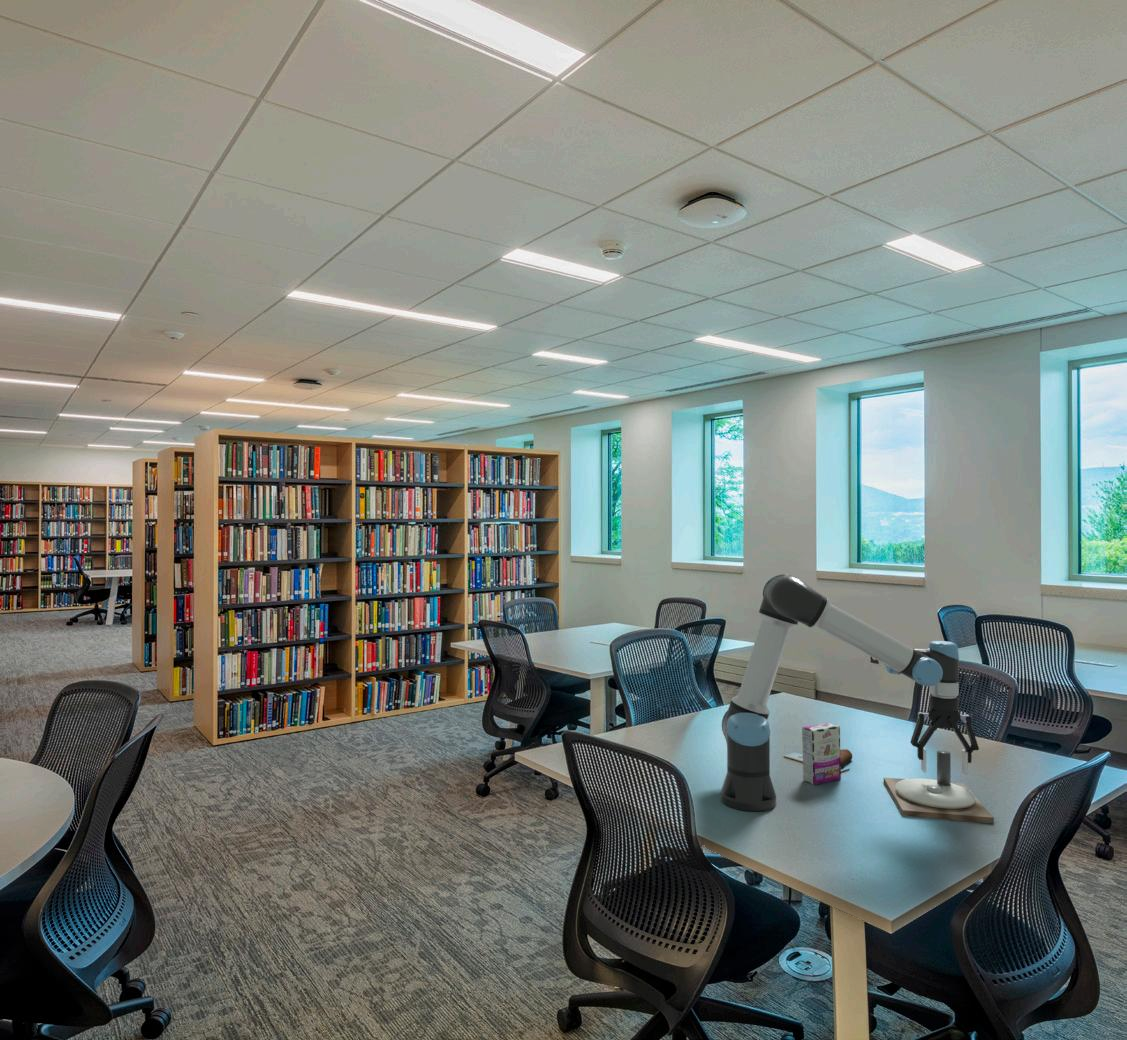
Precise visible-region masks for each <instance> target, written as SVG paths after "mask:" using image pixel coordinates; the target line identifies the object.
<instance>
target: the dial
mask: <svg viewBox="0 0 1127 1040" xmlns="http://www.w3.org/2000/svg"><path fill="white" fill-rule="evenodd" d="M951 759H952V757H951V752H950V751H946V750H937V751H936V779H932V778H919V777H918V778H904V779H905V780H901V781H899V782H897V783H896V792H897V794H898V795H900V796H901V797H903V798H905V799H907V800H909V801H912V802H915V803H918V804H921V805H925V806H930V807H936V808H946V809H960V808H967V807H970V806H972V805H974V804H975V797H976V794H975V793H973V792H972V790H970V789H969V788H968V789H969V790H968V789H966V788H964V787H962V786H959V785H956V784H953V783H954V782H952V781H951V777H952V776H951V774H952V773H951V770H952V769H951V767H952V766H951ZM951 782H952V783H951Z"/></svg>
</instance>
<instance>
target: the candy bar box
mask: <svg viewBox="0 0 1127 1040" xmlns="http://www.w3.org/2000/svg"><path fill="white" fill-rule="evenodd" d="M801 730H802V732H801V733H802V738H801V739H802V777H803V778H802V780H803V781H804V782H806V783H809V784H810V785H811V784H812V785H814V786H816V785H820V784H824V783H831V782H834V781H838V780H842V770H841V769H842V766H841V760H840V758H841V757H840V750H841V725H837V724H834V723H831V722H824V723H819V724H815V725H814V724H813V725H807V726H802V728H801Z"/></svg>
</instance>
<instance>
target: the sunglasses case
mask: <svg viewBox="0 0 1127 1040" xmlns="http://www.w3.org/2000/svg"><path fill="white" fill-rule="evenodd" d="M840 757H841V758H840V760H841V767H843V766H844V765H845V764H846V763H848V762H850V761H851V760H852V759H853V753H852V751H850V750H849V749H847V748H845V749H843V748H842V749H840Z"/></svg>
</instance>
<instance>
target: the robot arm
mask: <svg viewBox="0 0 1127 1040" xmlns="http://www.w3.org/2000/svg"><path fill="white" fill-rule="evenodd" d="M758 615H759V617H760V618H761V621H760V624H759V626H758V631H757V634H756V637H755V640H754V643H753V646H752V651H751V653H750V656H749V660H748V662H747V666H746V669H745V672H744V675H743V679H742V681H741V685H740V688H739V691H738V694H737V695H735V696H733V697H731V700H730V702H729V705H728V708H727V710H726V712H724V714H723V716H722V720H721V731H722V735H723V737H724V740H725V743H726V749H727V750H726V761H727V762H726V767H727V768H726V771H727V772H726V775H725V777H724V781H723V782H722V783H723V785H722V786H721V791H720V800H721V802H722V803H723V804H724V805H726V806H727V807H730V808H732V809H736V810H741V811H747V812H764V811H768V810H771V809H773V808H775V807H776V806H777V794H776V791H775V787H774V785H773V782H772V778H771V775H770V773H771V771H770V770H771V769H770V768H771V767H770V766H771V764H770V763H771V762H770V760H771V759H770V758H771V755H770V751H771V750H770V748H771V747H770V743H771V742H770V741H771V740H770V739H771V738H770V737H771V729H770V724H769V721H768V719H769V716H770V712H771V711H770V710H769V708H768V705H767V704H768V702H769V701H768V700H769V697H770V695H771V691H772V688H773V685H774V682H775V679H776V676H777V673H778V669H779V667H780V666H779V665H780V663H781V660H782V657H783V654H784V650H785V647H786V644H787V642H788V638H789V635H790V631H791V630H792V629H793V628H795V627H797V626H798V624H799V623H800V624H802V625H804V626H807V627H808V628H810V629H814V628H817V629H819V630H822V631H823V632H825V633H826V634H829V635H831V636H833V637H834V638H836V639H838V640H839V641H842V642H843V643H846V644H847V645H849V646H851V647H852V648H855V649H856V650H858V651H860V652H861V653H863V654H865V655H867V656H868V657H870V658H873V659H874V660H876V661H878V662H880V663H882V664H884V665H885V669H886V671H887V672H888V673H889V674H893V675H903V676H905V677H907V678H909V679H911V680H913V681H914V682H915V683H917V684H919V685H921V686H924V687H929V693H930V695H929V709H928V712H921V711H918V712H917V721H916V724H915V726H914V730H913V733H912V735H911V739H910V742H909V743H910V744H911V745H912V746H913V747H914V748H917V759H919V761H920V762H921V765H920V766H921V767H920V768H921V771H922V772H923V773H927V749H926V748H925V746H926V745H927V743H928V742H929V740H930V739H931V738H932V736H933V734H934V733H935V732H936V731H937V730H938V729H947V730H948V729H949V730H951V729H952V730H953V732H954V733H955V735H956V736H957V737H958V738H957V739H958V740H959V741H960V743H961V745H962V746H963V747H964V749H961V773H963V775H964V776H969V764H972V753H973V751H974V752H975V751H979V749H980V748H979V744H978V742H977V739H976V735H975V732H974V730H973V727H972V717H971V715H969V714H968V713H966V714H960V712H959V711H960V710H959V709H960V708H959V707H960V704H959V701H960V699H959V697H958V696H959V691H960V690H959V689H960V687H959V667H960V665H959V661H960V657H959V656H960V655H959V646H958V645H957V644H956V643H954V642H953V641H946V640H945V641H944V640H933V641H932V640H931V641H930V642H929V645H928V647H927V648H926V647H925V648H919V647H918V648H916V647H915V648H914V647H910V645H907V644H906V643H903V642H902V641H900V640H898V639H896V638H895V637H892V636H891V635H889V634H887V633H885V632H883V631H882V630H879V629H878V628H876V627H874V626H872V625H870V624H868V623H866V622H864V620H861V619H860V618H858V617H855V616H854V615H852V614H850V613H848V612H847V611H844V610H843V609H841V608H839V607H837V606H835V605H834V604H831V602H830V601H829V598H828V597H826V596H824V595H823V594H821V593H820V592H818V591H816V590H815V589H814V588H812V587H811V586H810V585H808V584H807V583H806V582H804V581H803V580H802V579H800V578H797V577H795V576H793V575H791V574H785V573H783V574H778V575H775V576H773V577H771V578H769V580H767V581H766V583H765V584H764V586H763V589H762V600H761V604H760V606H759V611H758ZM928 718H929V719H930V723H929V724H928V727H927V728H926V730H925V731H924V733H923V734H922V735H921V733H922V730H923V728H924V723H925V721H927V719H928ZM960 720H961V721H962V722H963V724H964V727H965V730H966V733H967V736H968V739H969V742H970V745H969V743H968V741H967V739H966V738H965V736H964V735H963V733H962V731H961V730H960V728H959V726H958V725H957V724H958V722H959V721H960Z"/></svg>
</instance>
